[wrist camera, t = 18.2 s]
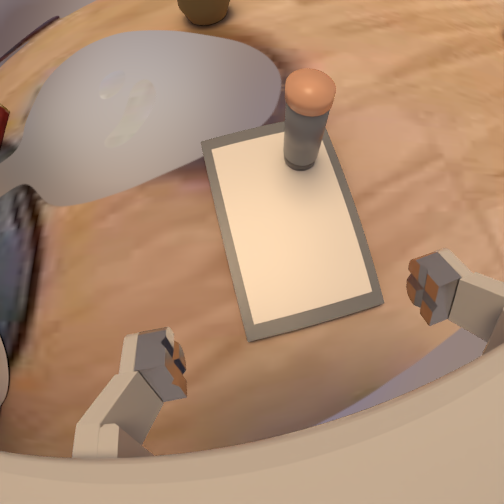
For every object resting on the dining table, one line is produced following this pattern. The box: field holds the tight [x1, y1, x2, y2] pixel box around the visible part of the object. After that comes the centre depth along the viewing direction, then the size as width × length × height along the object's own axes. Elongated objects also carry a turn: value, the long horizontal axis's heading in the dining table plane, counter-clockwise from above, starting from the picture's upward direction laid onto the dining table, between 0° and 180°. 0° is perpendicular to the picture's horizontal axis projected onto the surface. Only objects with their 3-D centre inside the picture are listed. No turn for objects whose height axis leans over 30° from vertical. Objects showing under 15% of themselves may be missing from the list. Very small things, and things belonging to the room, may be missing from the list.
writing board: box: [201, 121, 384, 342], centre depth 33 cm, size 14×22×1 cm, turn 14°
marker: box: [283, 69, 336, 171], centre depth 28 cm, size 4×4×12 cm
